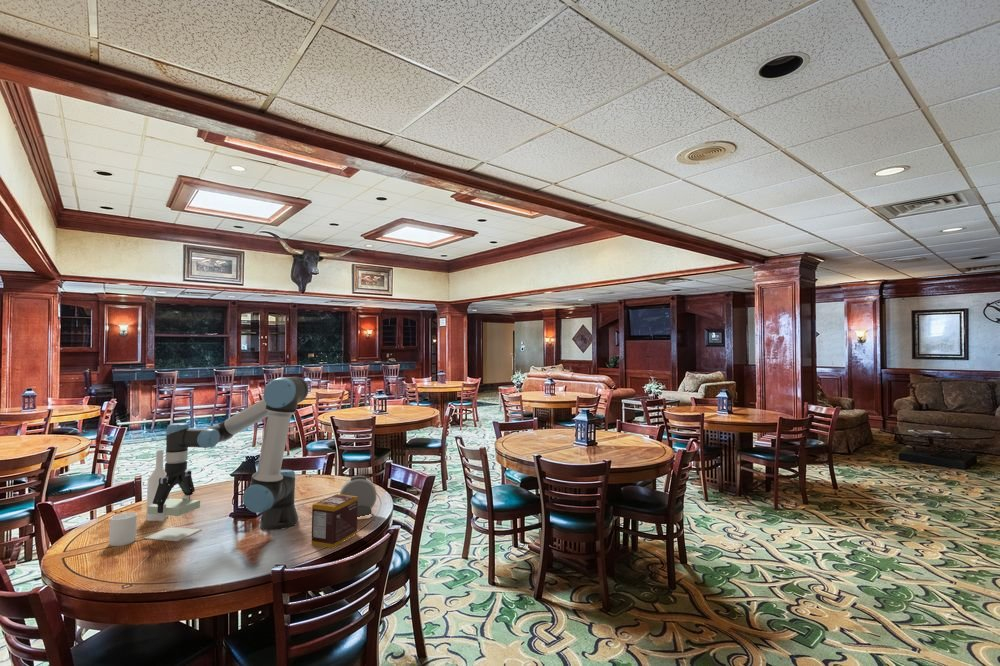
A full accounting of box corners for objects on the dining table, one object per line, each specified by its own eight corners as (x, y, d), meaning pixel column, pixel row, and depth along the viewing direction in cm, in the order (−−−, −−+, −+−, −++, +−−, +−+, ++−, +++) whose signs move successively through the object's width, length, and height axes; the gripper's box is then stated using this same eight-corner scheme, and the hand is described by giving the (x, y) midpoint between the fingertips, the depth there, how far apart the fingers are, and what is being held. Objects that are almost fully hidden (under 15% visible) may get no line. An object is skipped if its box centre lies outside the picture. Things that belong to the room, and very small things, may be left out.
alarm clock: (375, 511, 225) (375, 472, 226) (376, 518, 215) (377, 477, 216) (339, 514, 220) (339, 474, 221) (338, 522, 210) (339, 480, 211)
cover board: (199, 507, 199) (200, 500, 199) (178, 516, 188) (178, 508, 189) (170, 505, 201) (170, 498, 202) (147, 513, 191) (147, 506, 191)
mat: (201, 530, 199) (201, 529, 199) (177, 541, 187) (177, 540, 187) (169, 528, 201) (169, 527, 202) (144, 538, 190) (144, 537, 190)
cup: (107, 548, 180) (108, 521, 181) (111, 538, 190) (112, 512, 191) (134, 543, 185) (136, 517, 185) (137, 533, 195) (138, 508, 195)
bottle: (147, 522, 208) (149, 453, 209) (145, 517, 214) (148, 450, 215) (169, 518, 213) (172, 450, 215) (167, 513, 219) (169, 447, 221)
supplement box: (357, 534, 196) (358, 495, 197) (333, 548, 182) (333, 507, 182) (336, 531, 199) (337, 493, 200) (310, 544, 185) (311, 504, 186)
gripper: (190, 455, 208) (188, 506, 207) (143, 467, 185) (140, 525, 184) (206, 455, 207) (203, 507, 206) (160, 468, 184) (157, 526, 183)
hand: (173, 515), depth 195 cm, fingers closed on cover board, 11 cm apart
